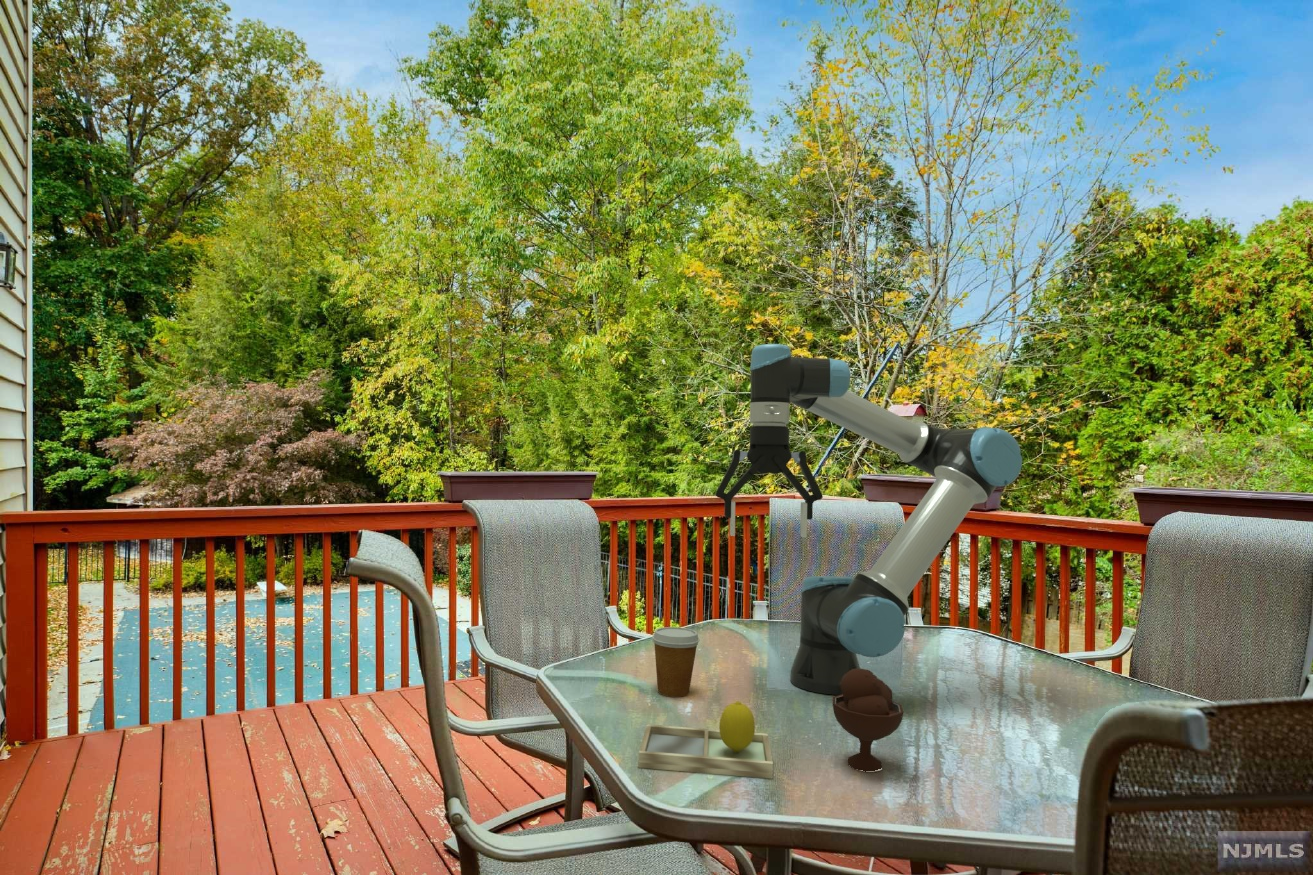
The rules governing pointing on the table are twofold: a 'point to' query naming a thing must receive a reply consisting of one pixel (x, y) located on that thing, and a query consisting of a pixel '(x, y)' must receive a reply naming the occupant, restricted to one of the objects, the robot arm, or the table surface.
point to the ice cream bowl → (866, 714)
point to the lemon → (737, 726)
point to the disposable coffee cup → (674, 659)
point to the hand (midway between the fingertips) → (767, 536)
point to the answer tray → (703, 752)
